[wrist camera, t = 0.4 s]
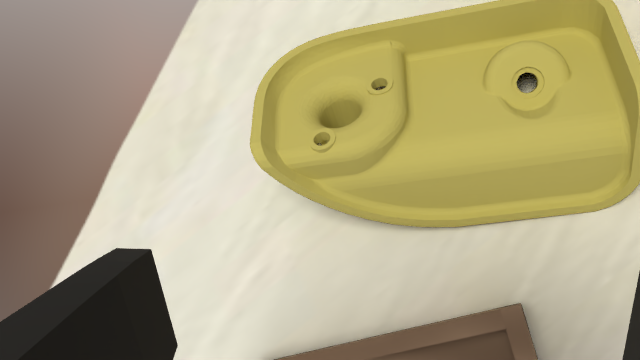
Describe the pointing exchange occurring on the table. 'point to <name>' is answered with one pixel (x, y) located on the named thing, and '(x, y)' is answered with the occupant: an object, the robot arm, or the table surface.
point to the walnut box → (443, 340)
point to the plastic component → (458, 115)
